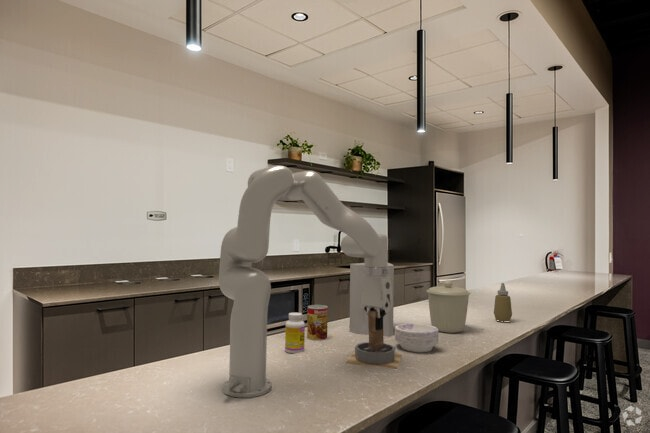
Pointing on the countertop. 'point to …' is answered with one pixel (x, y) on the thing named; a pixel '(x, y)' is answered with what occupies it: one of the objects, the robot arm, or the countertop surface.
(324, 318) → the canned food
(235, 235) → the robot arm
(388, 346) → the round grey dish
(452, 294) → the canister
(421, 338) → the paper bowls
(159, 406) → the countertop surface
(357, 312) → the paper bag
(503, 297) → the squeeze bottle
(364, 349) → the clip
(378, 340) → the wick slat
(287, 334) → the supplement bottle
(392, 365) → the cork mat
